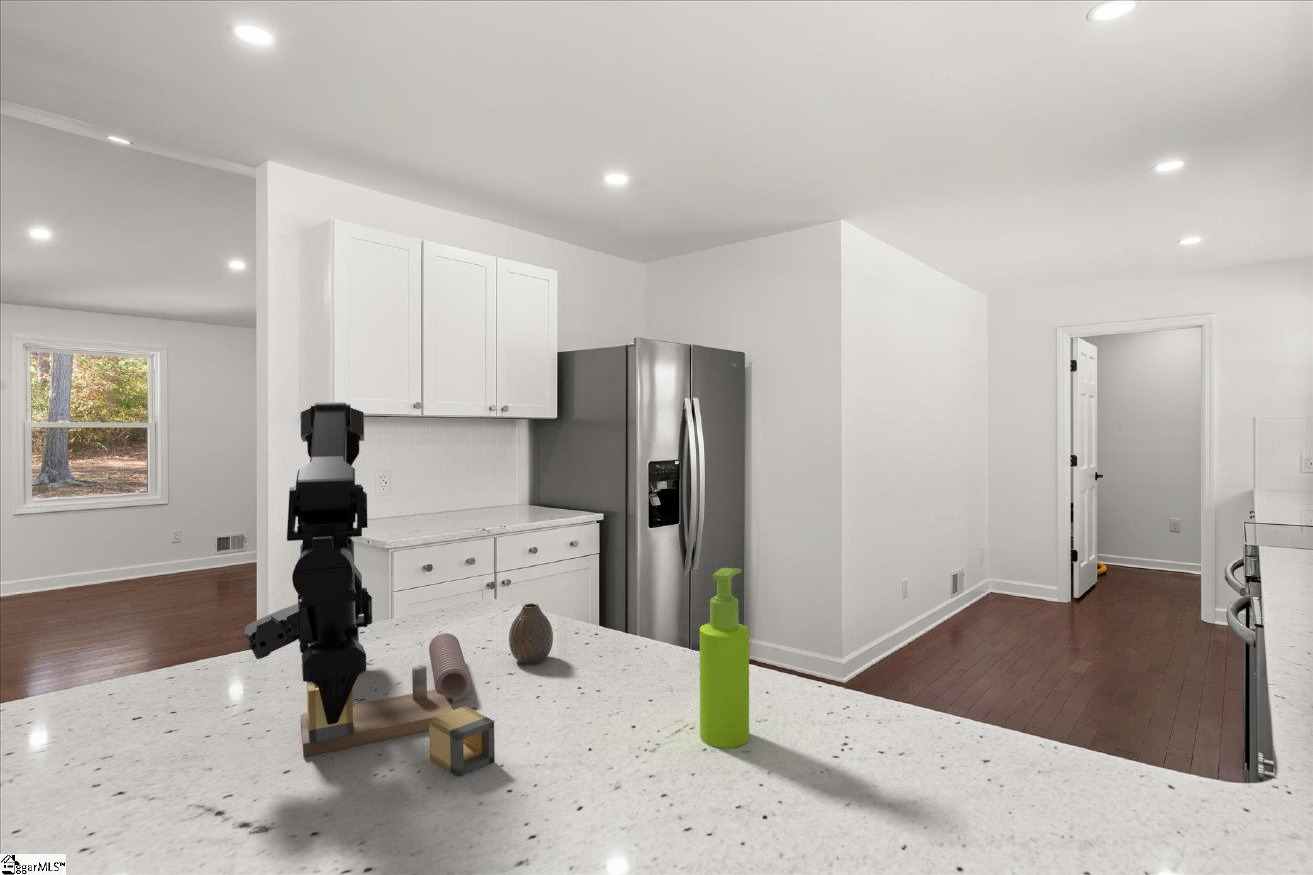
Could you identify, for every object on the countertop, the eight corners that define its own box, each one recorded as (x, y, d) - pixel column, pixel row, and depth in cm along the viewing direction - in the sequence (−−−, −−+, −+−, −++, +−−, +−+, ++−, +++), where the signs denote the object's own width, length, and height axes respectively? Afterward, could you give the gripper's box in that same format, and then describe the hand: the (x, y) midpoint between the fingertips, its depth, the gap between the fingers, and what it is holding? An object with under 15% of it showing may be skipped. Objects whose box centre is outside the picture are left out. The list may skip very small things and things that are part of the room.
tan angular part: (457, 734, 75) (429, 718, 79) (458, 777, 75) (429, 758, 79) (494, 720, 78) (465, 705, 82) (494, 761, 78) (465, 744, 82)
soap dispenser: (757, 727, 86) (757, 566, 86) (740, 752, 80) (739, 578, 80) (713, 719, 89) (712, 563, 88) (692, 742, 83) (692, 574, 82)
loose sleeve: (349, 719, 86) (348, 671, 86) (353, 734, 82) (352, 683, 82) (307, 727, 84) (306, 678, 83) (309, 743, 80) (308, 691, 79)
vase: (560, 655, 113) (560, 601, 113) (540, 669, 107) (539, 612, 107) (523, 650, 116) (522, 598, 115) (500, 664, 109) (500, 609, 109)
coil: (473, 669, 95) (460, 631, 112) (437, 669, 94) (430, 631, 110) (469, 703, 95) (457, 660, 112) (433, 704, 94) (427, 660, 110)
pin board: (300, 726, 87) (299, 682, 87) (440, 699, 96) (439, 659, 95) (303, 756, 80) (302, 708, 79) (455, 724, 88) (454, 681, 88)
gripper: (251, 574, 87) (253, 699, 87) (246, 611, 70) (249, 764, 71) (349, 565, 92) (351, 682, 92) (365, 596, 76) (368, 739, 76)
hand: (330, 713), depth 83 cm, fingers open, 6 cm apart
